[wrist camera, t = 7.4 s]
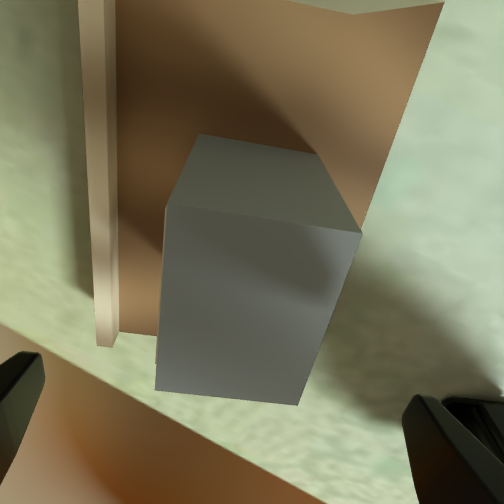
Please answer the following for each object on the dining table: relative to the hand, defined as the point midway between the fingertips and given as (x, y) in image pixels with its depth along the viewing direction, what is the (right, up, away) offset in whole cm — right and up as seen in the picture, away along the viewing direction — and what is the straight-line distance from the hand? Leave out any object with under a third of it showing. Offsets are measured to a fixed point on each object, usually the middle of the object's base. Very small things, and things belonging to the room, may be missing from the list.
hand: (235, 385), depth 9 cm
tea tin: (0, +5, +8) cm, 9 cm away
